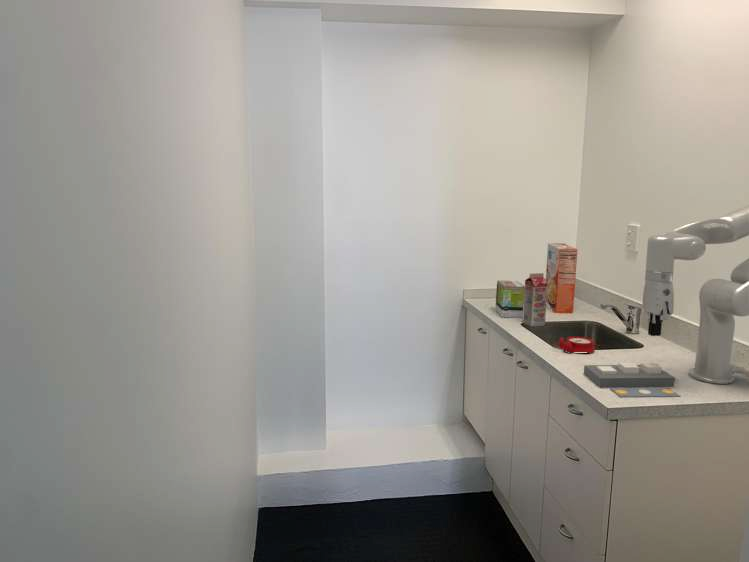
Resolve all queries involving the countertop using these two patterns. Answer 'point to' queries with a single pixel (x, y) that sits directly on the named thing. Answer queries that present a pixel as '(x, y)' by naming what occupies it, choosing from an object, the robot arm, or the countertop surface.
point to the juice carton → (535, 300)
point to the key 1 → (606, 370)
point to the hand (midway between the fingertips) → (654, 334)
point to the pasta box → (561, 277)
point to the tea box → (510, 299)
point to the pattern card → (644, 392)
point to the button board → (628, 378)
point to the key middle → (628, 368)
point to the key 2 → (650, 368)
